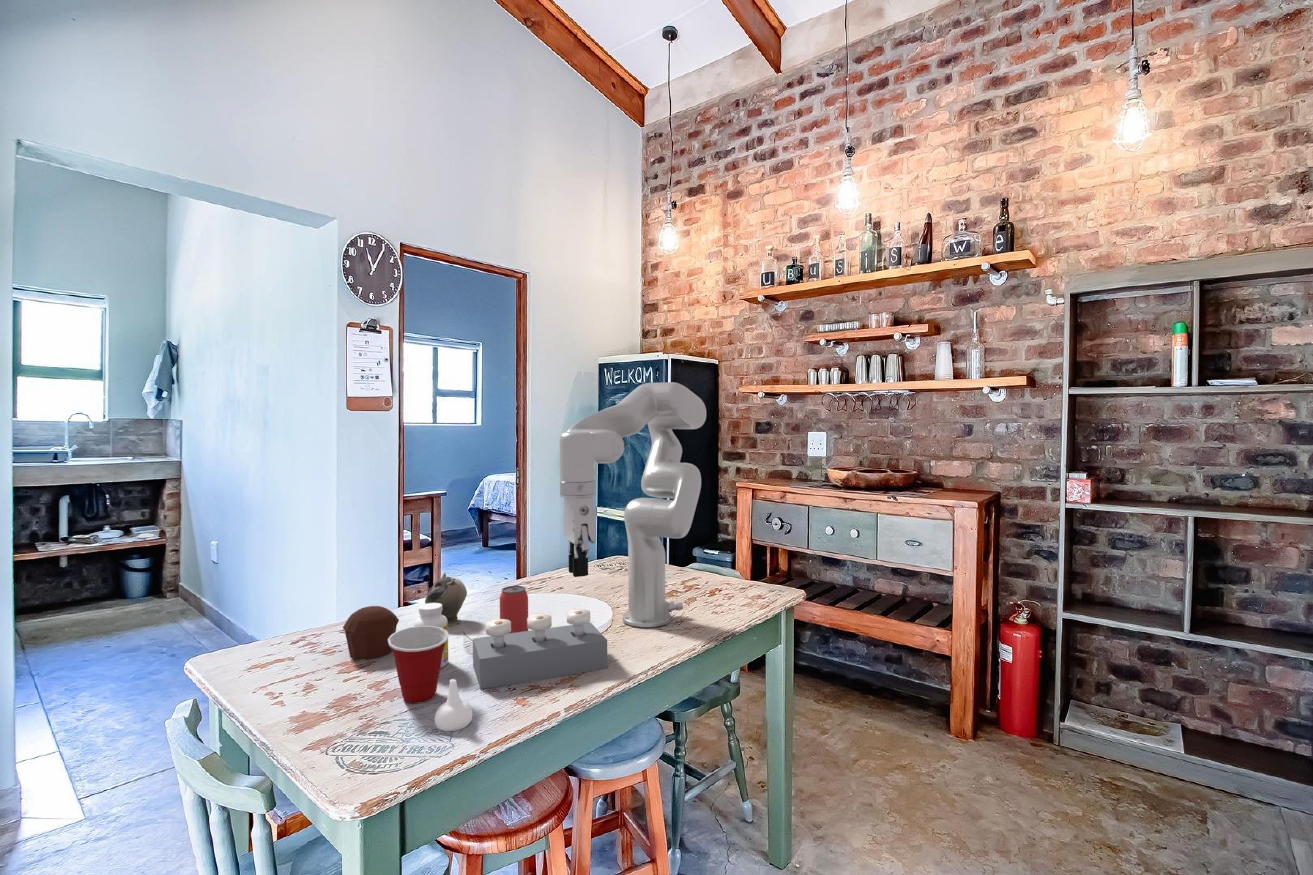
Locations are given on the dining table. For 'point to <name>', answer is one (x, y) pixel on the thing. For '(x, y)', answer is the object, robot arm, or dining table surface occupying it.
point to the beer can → (514, 607)
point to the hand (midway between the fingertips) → (578, 573)
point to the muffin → (370, 632)
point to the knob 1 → (498, 631)
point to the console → (538, 656)
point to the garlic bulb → (453, 711)
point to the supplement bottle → (434, 623)
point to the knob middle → (539, 625)
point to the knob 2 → (578, 620)
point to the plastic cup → (418, 660)
